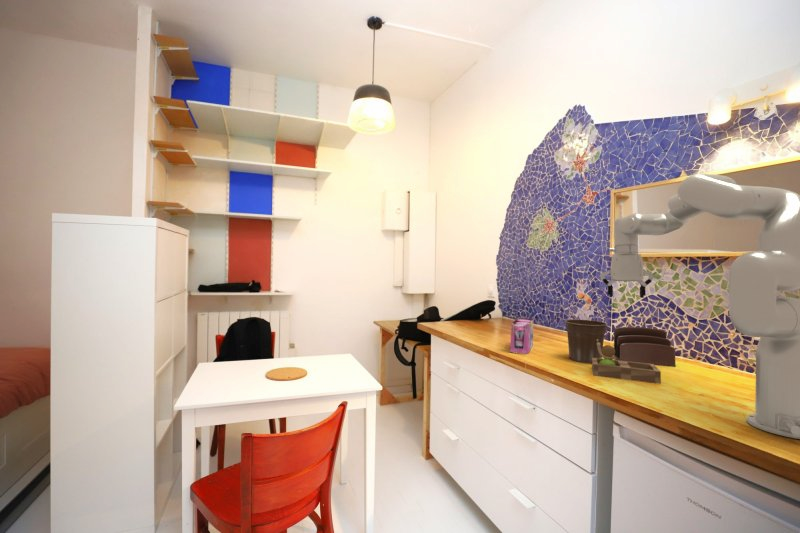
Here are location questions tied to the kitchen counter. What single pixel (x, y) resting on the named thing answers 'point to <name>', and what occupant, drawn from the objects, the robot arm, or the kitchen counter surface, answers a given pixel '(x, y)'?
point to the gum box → (521, 335)
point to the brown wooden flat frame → (627, 370)
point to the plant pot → (584, 339)
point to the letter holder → (643, 346)
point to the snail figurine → (606, 354)
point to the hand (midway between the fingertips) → (626, 297)
